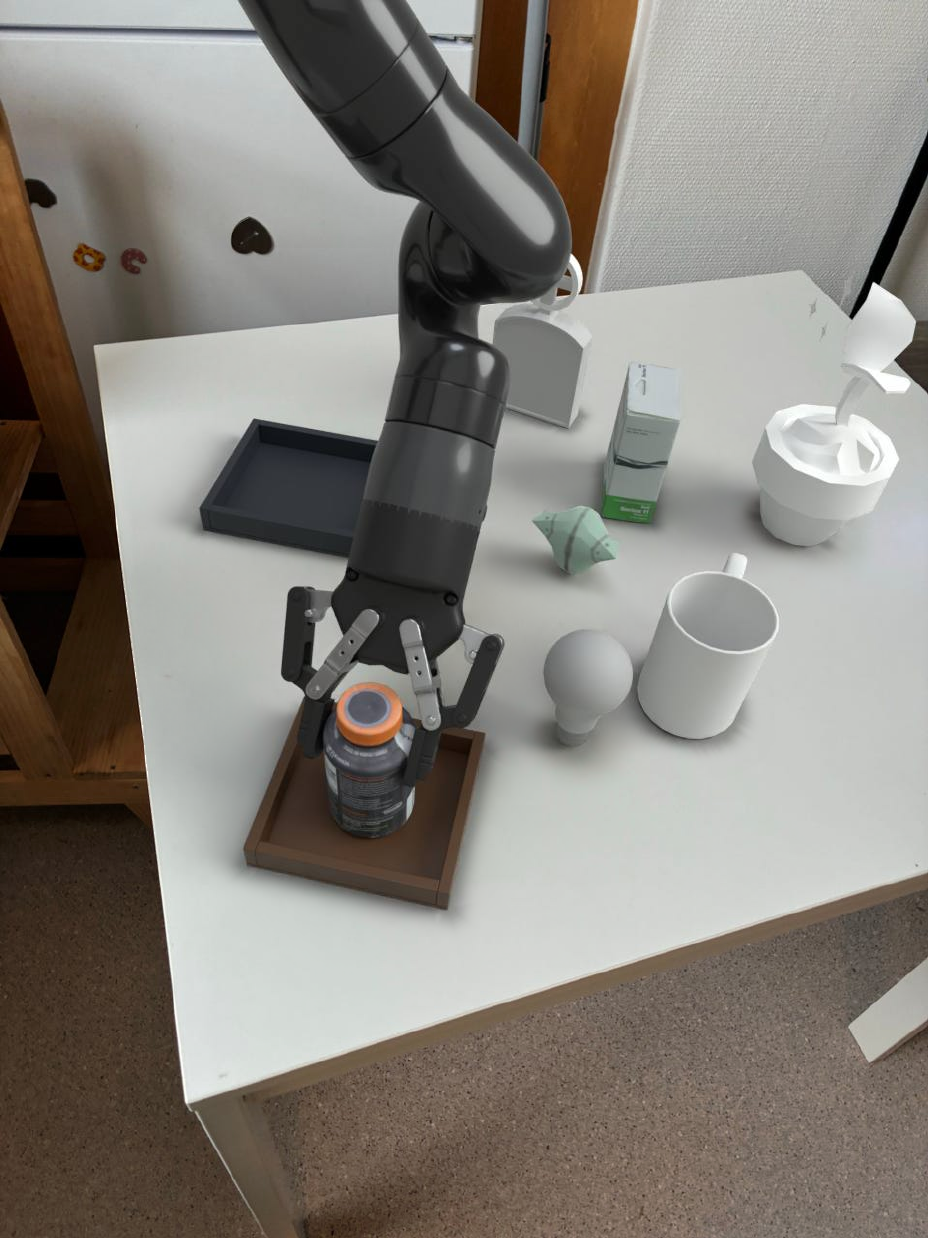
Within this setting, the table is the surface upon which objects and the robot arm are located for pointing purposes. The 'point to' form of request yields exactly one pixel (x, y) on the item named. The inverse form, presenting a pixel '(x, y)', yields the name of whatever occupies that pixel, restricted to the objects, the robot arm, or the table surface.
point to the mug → (706, 651)
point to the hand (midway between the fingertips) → (361, 769)
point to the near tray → (389, 865)
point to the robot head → (577, 538)
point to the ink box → (641, 442)
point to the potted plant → (835, 435)
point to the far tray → (291, 488)
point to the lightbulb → (585, 681)
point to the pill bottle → (368, 760)
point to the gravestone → (546, 353)
